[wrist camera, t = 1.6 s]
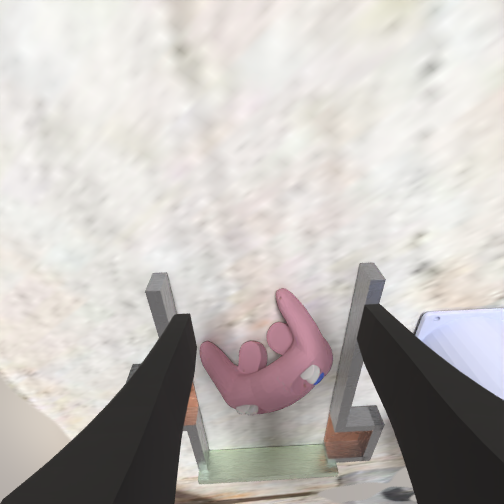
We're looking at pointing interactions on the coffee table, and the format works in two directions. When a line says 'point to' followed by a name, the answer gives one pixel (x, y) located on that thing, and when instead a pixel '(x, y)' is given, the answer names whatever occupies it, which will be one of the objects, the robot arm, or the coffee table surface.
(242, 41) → the coffee table surface
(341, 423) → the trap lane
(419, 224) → the coffee table surface
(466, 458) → the robot arm
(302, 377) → the video game controller
